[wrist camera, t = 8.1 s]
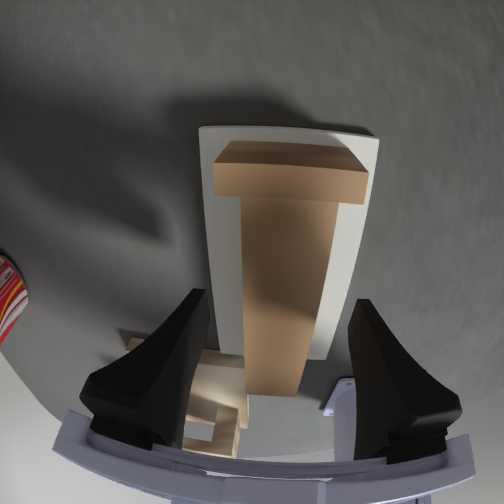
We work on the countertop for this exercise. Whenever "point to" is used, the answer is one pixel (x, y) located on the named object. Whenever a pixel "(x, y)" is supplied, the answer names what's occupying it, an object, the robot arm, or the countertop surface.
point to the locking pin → (285, 246)
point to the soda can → (10, 296)
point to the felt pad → (229, 232)
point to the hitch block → (216, 401)
